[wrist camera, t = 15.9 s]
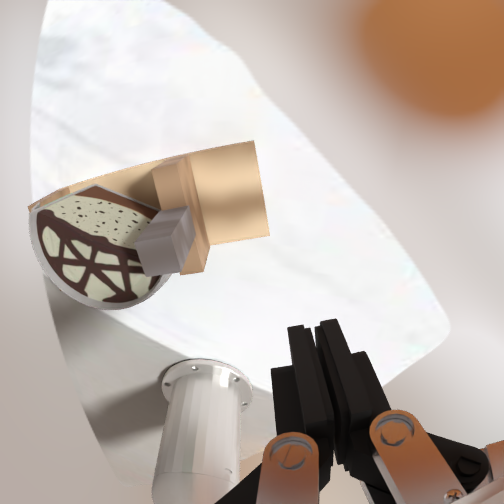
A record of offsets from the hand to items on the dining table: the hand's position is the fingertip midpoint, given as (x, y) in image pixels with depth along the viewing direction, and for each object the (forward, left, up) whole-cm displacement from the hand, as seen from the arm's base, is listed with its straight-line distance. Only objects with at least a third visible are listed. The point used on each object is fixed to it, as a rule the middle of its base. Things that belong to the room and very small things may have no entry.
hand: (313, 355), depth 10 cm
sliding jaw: (+1, +8, -20) cm, 21 cm away
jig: (+1, +11, -21) cm, 24 cm away
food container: (0, +14, -20) cm, 25 cm away
